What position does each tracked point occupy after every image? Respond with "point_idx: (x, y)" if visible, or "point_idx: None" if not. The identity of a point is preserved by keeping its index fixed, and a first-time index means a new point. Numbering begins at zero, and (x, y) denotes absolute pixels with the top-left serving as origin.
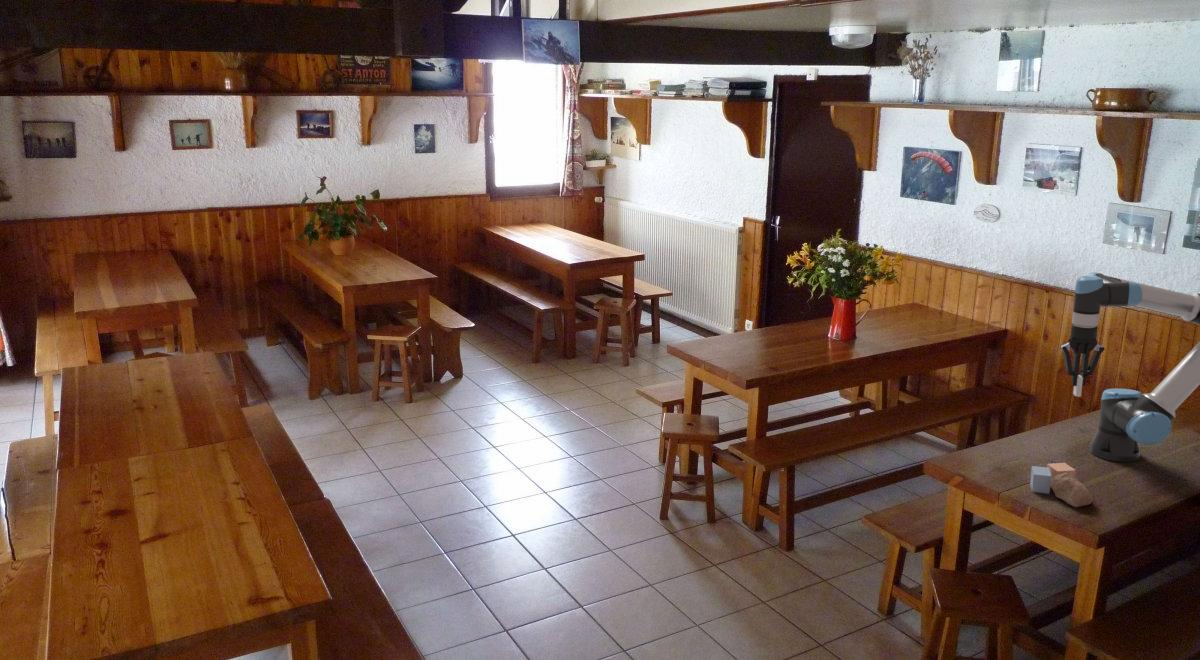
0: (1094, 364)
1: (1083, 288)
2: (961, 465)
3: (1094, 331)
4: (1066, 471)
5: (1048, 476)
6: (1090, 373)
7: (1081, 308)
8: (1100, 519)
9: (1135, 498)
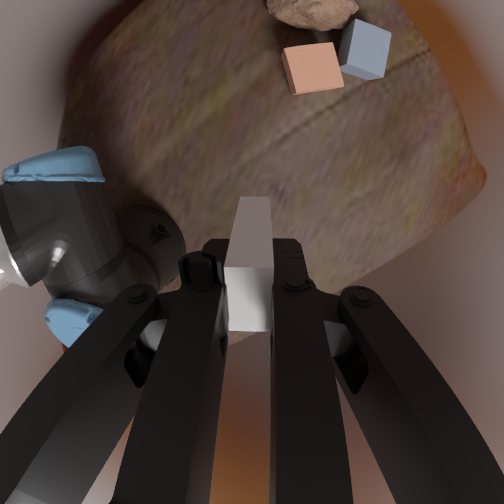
0: (69, 375)
1: None
2: (454, 174)
3: None
4: (308, 45)
5: (361, 21)
6: (142, 292)
7: None
8: None
9: (168, 24)
